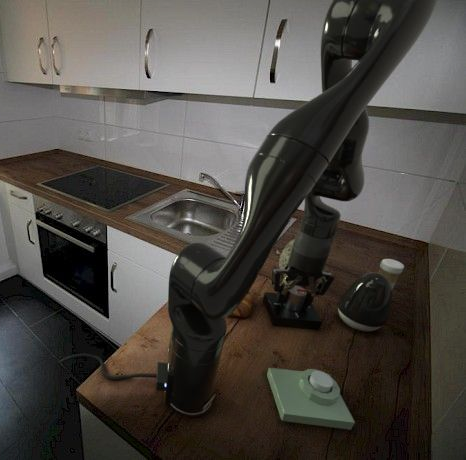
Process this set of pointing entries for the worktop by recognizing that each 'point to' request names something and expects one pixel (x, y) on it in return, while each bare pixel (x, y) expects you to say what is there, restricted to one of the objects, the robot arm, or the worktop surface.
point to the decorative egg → (286, 256)
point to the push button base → (308, 400)
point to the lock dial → (295, 298)
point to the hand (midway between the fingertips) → (292, 304)
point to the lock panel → (291, 315)
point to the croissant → (244, 307)
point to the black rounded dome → (366, 302)
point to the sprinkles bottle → (391, 270)
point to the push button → (320, 381)
